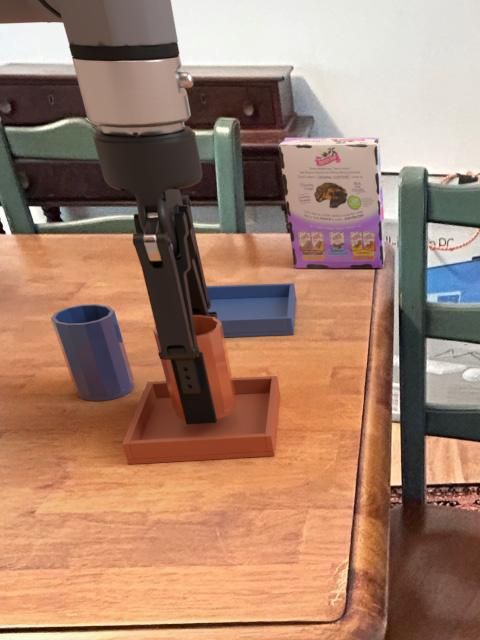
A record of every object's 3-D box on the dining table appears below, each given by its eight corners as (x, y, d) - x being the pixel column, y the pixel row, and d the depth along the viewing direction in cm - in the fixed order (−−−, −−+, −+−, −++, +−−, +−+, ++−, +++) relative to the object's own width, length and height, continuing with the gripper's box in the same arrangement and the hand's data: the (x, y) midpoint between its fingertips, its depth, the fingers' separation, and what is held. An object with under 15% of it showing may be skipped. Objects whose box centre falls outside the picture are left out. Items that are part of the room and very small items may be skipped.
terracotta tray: (128, 464, 67) (121, 444, 66) (152, 400, 77) (147, 381, 76) (274, 456, 69) (271, 435, 67) (280, 394, 79) (277, 375, 77)
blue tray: (184, 339, 90) (180, 322, 88) (197, 302, 100) (194, 286, 98) (293, 334, 91) (291, 317, 90) (296, 298, 101) (294, 283, 100)
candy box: (386, 258, 116) (381, 136, 105) (383, 269, 111) (378, 143, 100) (298, 257, 116) (284, 134, 105) (292, 268, 111) (277, 142, 100)
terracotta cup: (171, 423, 69) (149, 340, 64) (179, 396, 73) (159, 316, 68) (234, 420, 70) (217, 337, 64) (239, 393, 74) (223, 313, 69)
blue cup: (71, 402, 77) (44, 325, 71) (84, 379, 81) (60, 305, 76) (129, 399, 77) (106, 323, 72) (139, 376, 82) (118, 303, 76)
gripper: (175, 147, 50) (237, 451, 65) (207, 107, 64) (251, 365, 79) (59, 149, 49) (149, 456, 64) (117, 108, 63) (179, 368, 78)
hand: (205, 405), depth 71 cm, fingers closed on terracotta cup, 6 cm apart
